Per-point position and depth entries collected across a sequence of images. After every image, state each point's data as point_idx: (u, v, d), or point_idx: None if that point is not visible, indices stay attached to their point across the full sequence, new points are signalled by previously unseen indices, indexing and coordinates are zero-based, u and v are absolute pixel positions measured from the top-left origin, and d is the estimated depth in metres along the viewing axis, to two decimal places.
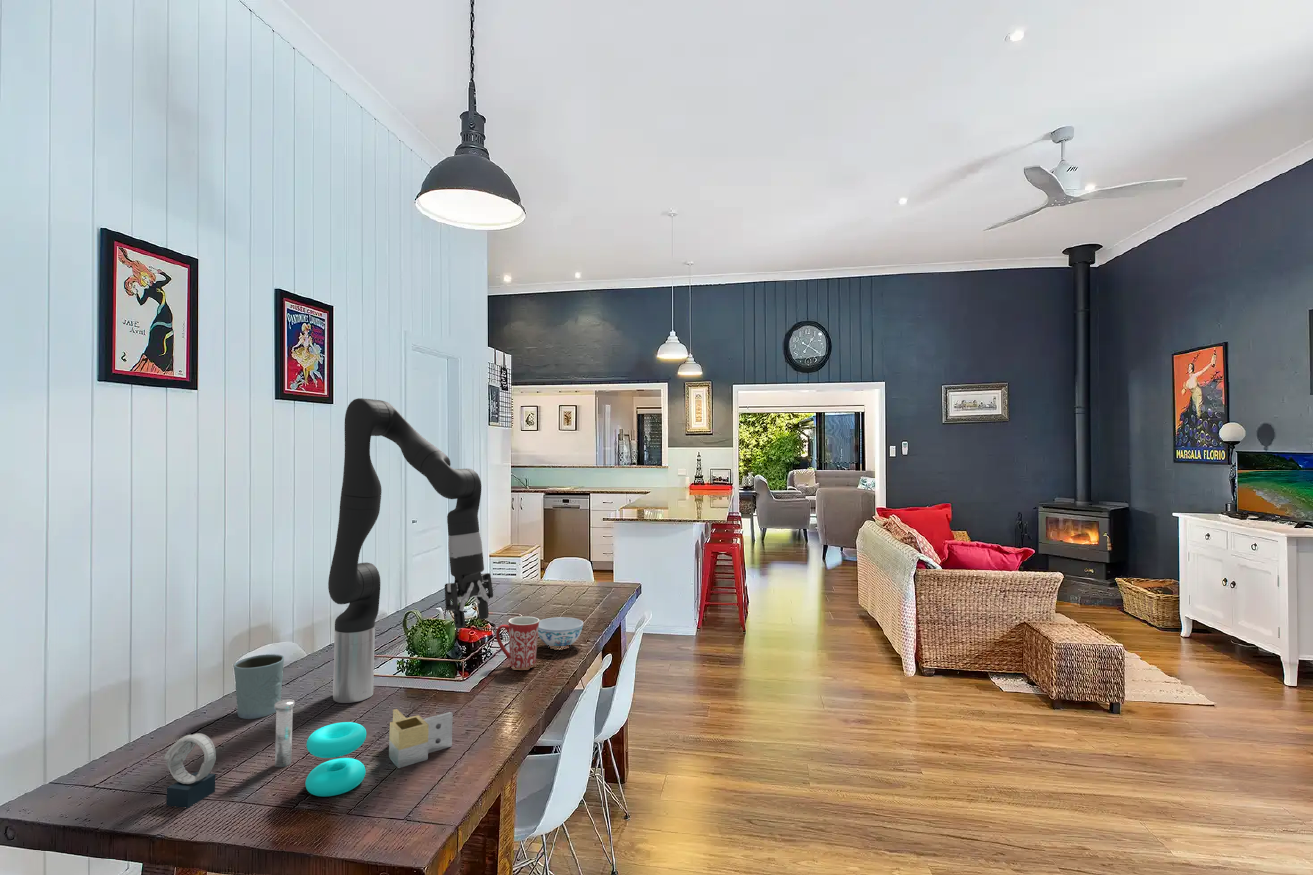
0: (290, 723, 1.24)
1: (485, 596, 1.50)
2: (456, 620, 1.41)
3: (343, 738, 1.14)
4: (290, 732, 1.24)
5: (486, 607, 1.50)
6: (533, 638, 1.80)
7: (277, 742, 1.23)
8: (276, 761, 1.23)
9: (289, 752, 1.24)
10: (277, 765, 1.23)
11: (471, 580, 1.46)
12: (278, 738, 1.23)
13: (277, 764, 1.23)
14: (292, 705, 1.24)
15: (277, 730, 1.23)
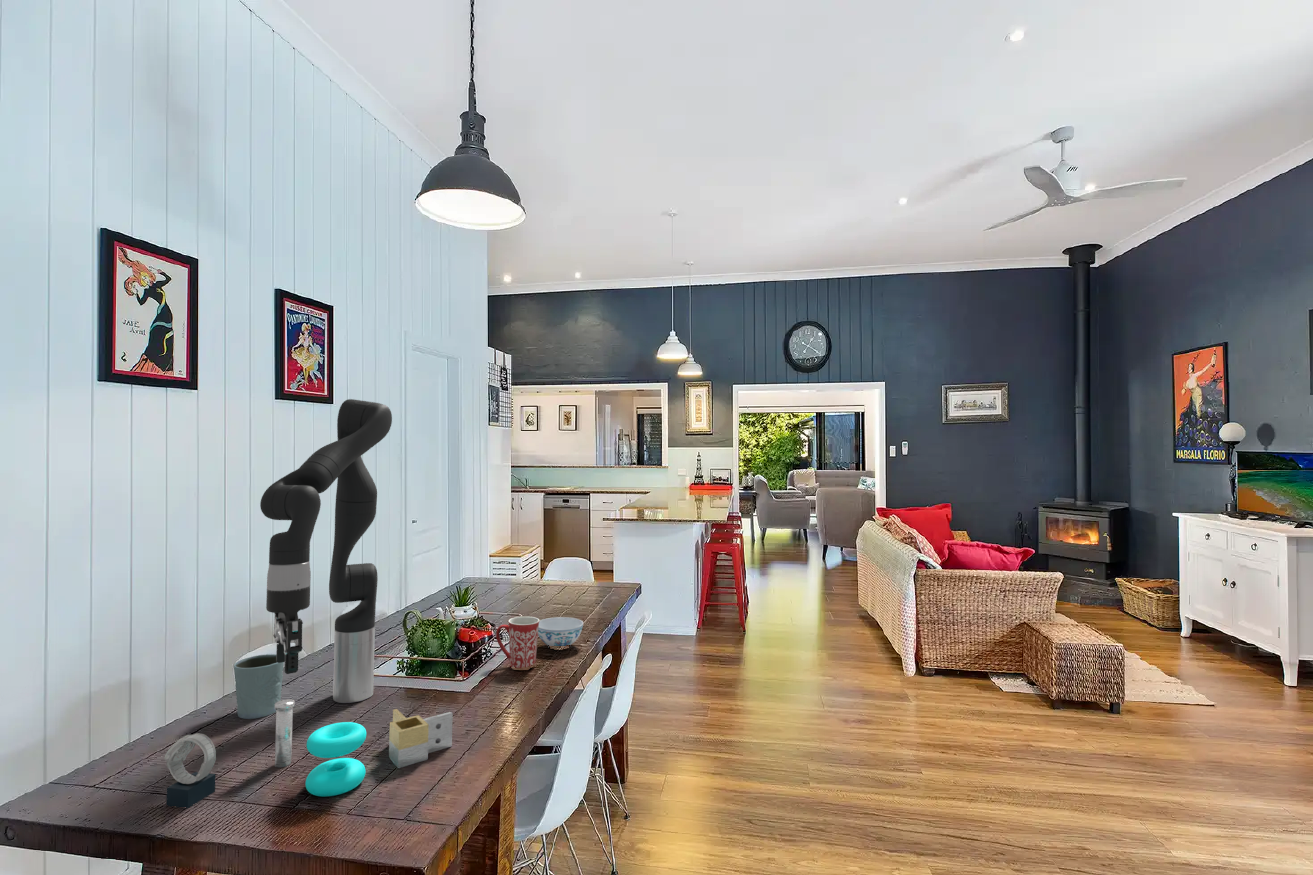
0: (290, 723, 1.24)
1: (284, 646, 1.21)
2: None
3: (343, 738, 1.14)
4: (290, 732, 1.24)
5: (285, 660, 1.21)
6: (533, 638, 1.80)
7: (277, 742, 1.23)
8: (276, 761, 1.23)
9: (289, 752, 1.24)
10: (277, 765, 1.23)
11: (281, 617, 1.25)
12: (278, 738, 1.23)
13: (277, 764, 1.23)
14: (292, 705, 1.24)
15: (277, 730, 1.23)
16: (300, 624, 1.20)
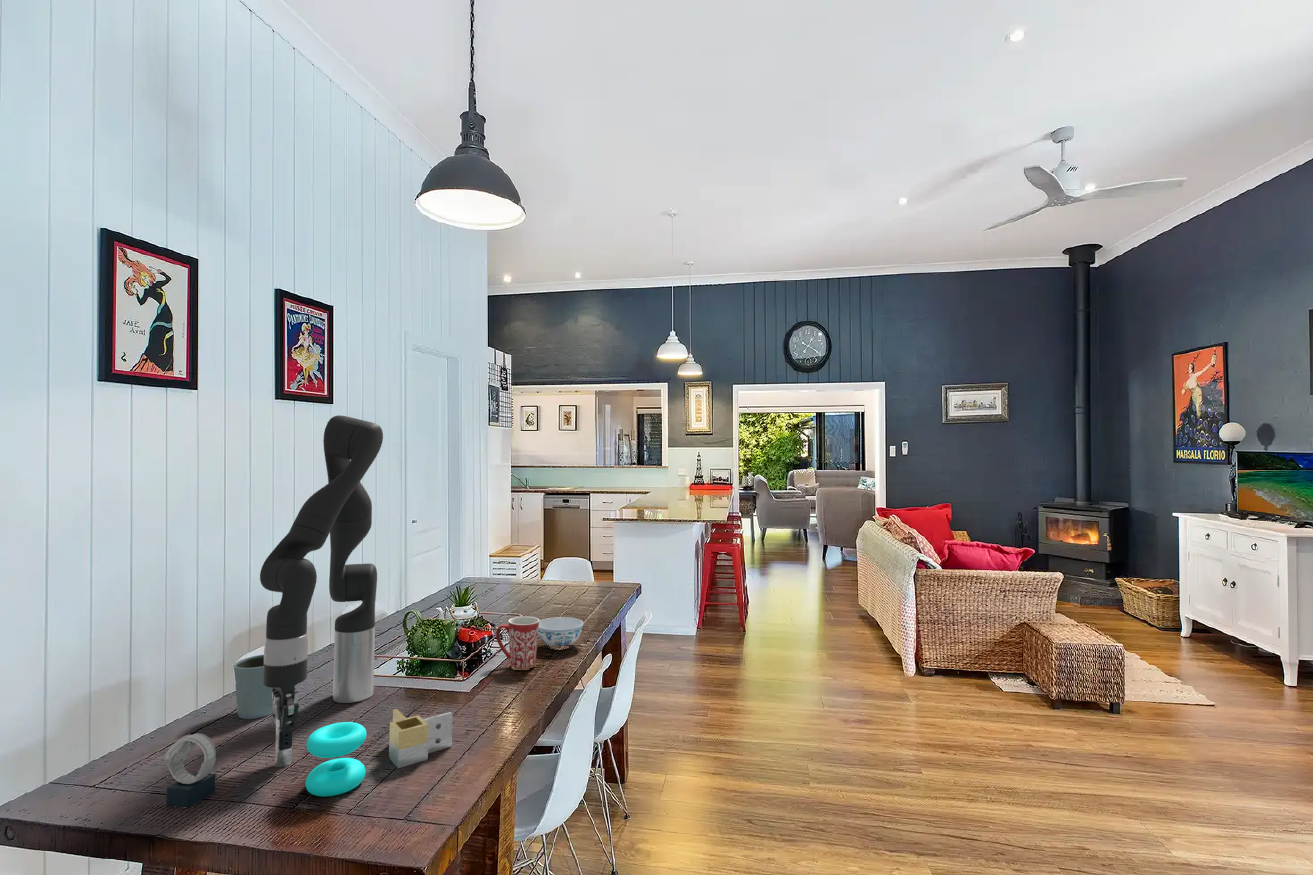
0: None
1: (279, 723, 1.22)
2: None
3: (343, 738, 1.14)
4: None
5: (279, 736, 1.23)
6: (533, 638, 1.80)
7: (277, 742, 1.23)
8: (276, 761, 1.23)
9: (289, 752, 1.24)
10: (277, 765, 1.23)
11: (278, 690, 1.24)
12: (278, 738, 1.23)
13: (277, 764, 1.23)
14: None
15: (277, 730, 1.23)
16: (296, 709, 1.20)
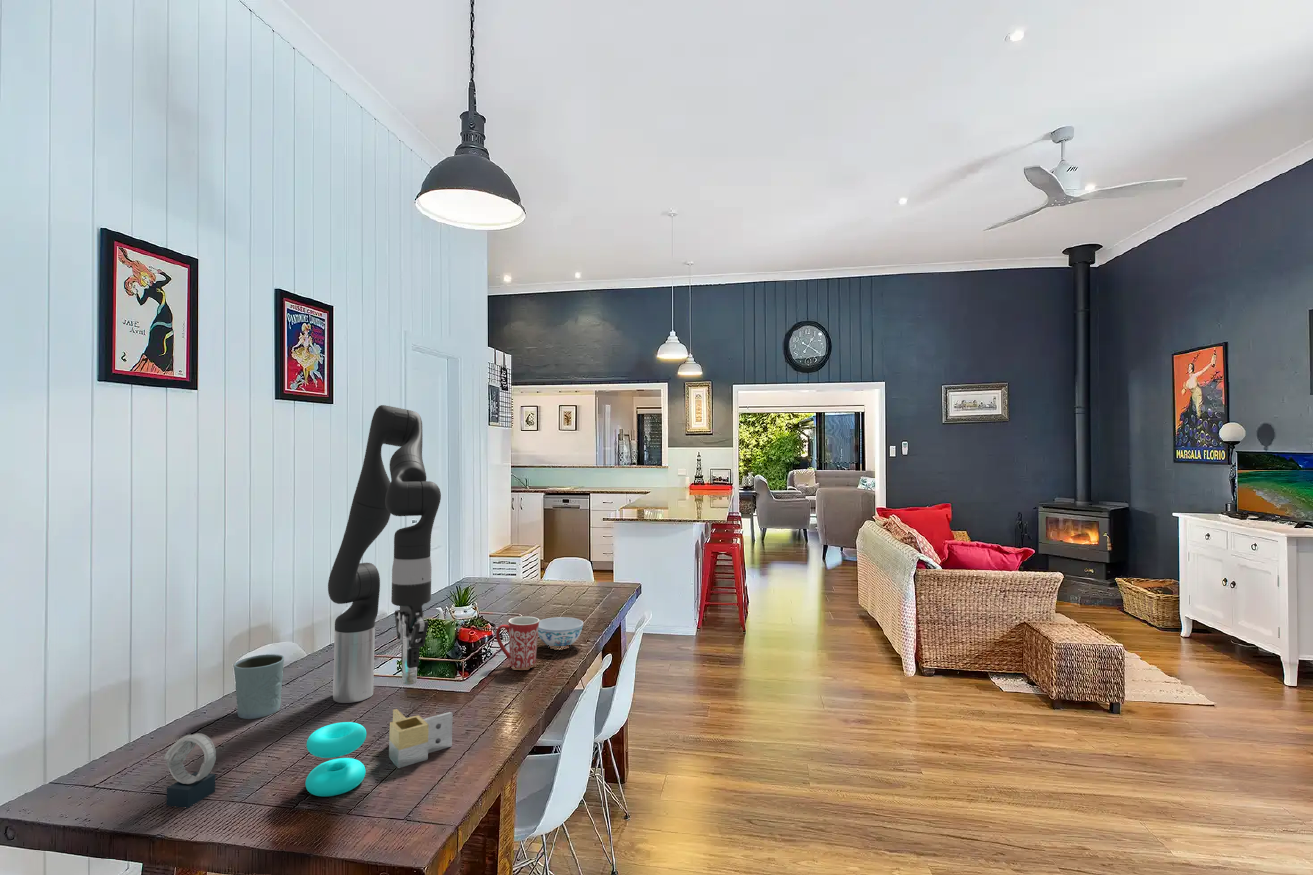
0: None
1: (407, 641, 1.25)
2: None
3: (343, 738, 1.14)
4: None
5: (407, 654, 1.26)
6: (533, 638, 1.80)
7: (405, 660, 1.26)
8: (404, 679, 1.26)
9: (415, 671, 1.27)
10: (405, 683, 1.26)
11: (405, 611, 1.27)
12: (405, 656, 1.26)
13: (405, 681, 1.26)
14: None
15: (404, 649, 1.26)
16: (426, 626, 1.23)
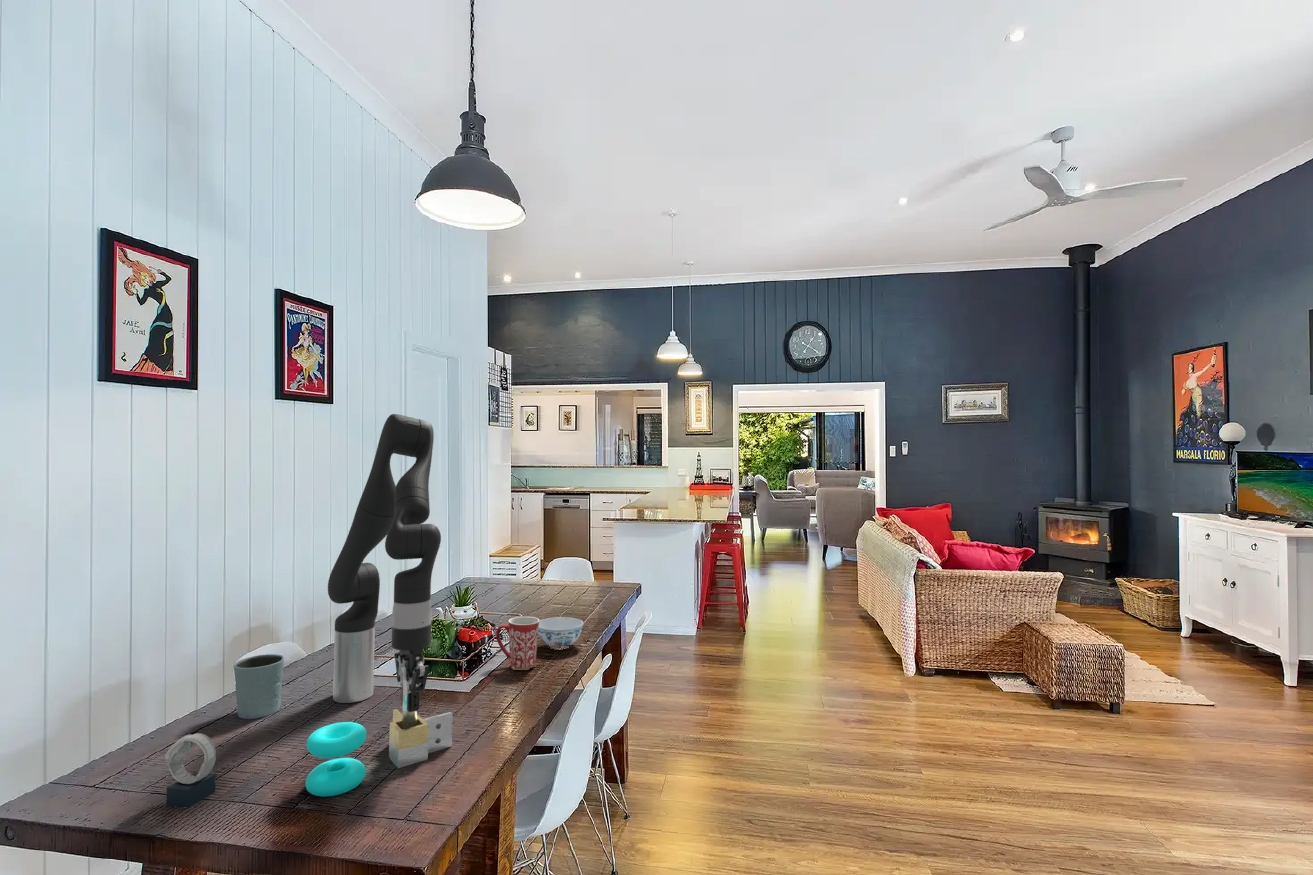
0: None
1: (408, 685, 1.25)
2: None
3: (343, 738, 1.14)
4: None
5: (407, 698, 1.26)
6: (533, 638, 1.80)
7: (405, 704, 1.26)
8: (404, 723, 1.26)
9: (416, 714, 1.27)
10: (405, 726, 1.26)
11: (405, 654, 1.27)
12: (406, 700, 1.26)
13: (405, 725, 1.26)
14: None
15: (405, 692, 1.26)
16: (426, 671, 1.23)
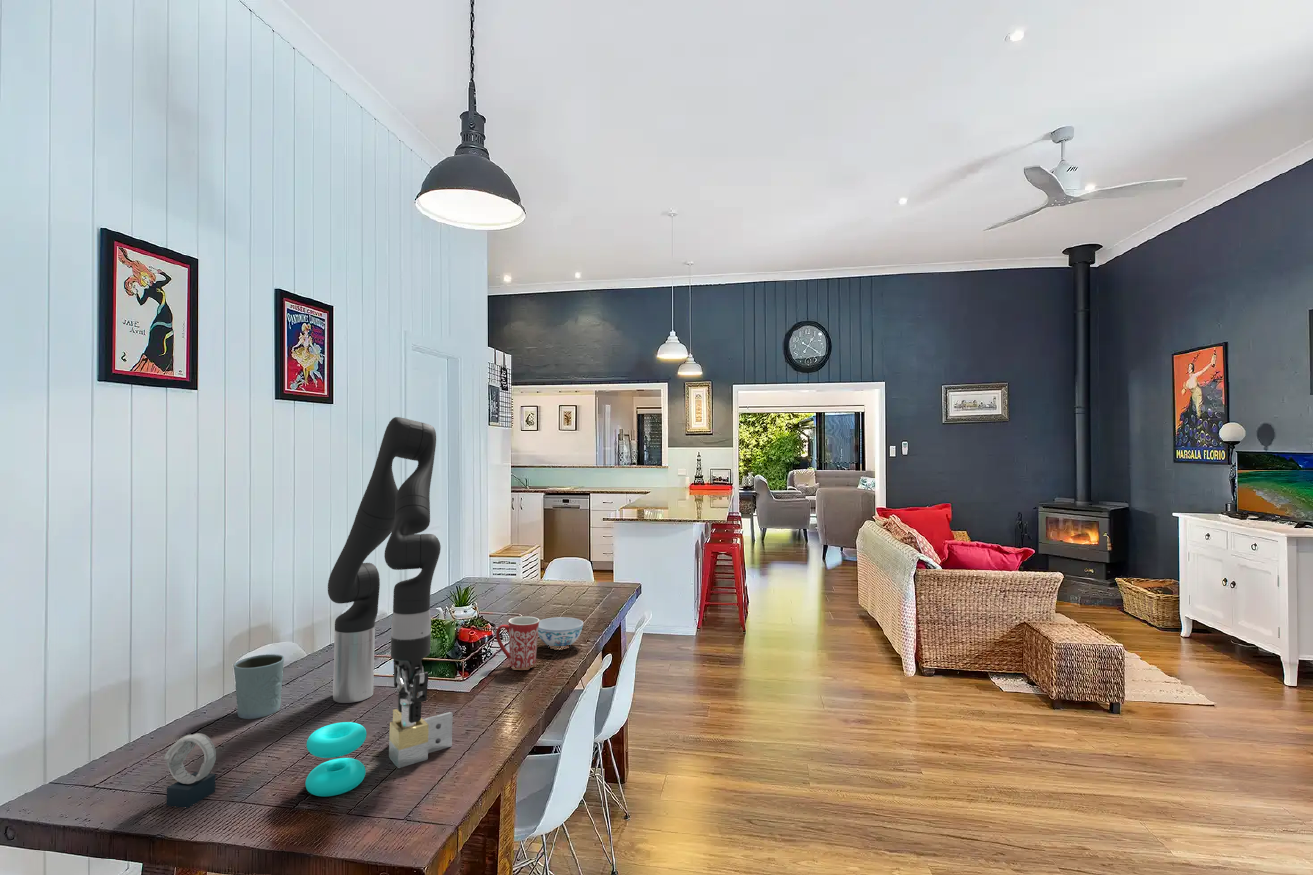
0: None
1: (409, 695, 1.24)
2: None
3: (343, 738, 1.14)
4: None
5: (409, 709, 1.24)
6: (533, 638, 1.80)
7: None
8: None
9: None
10: None
11: (404, 664, 1.27)
12: None
13: None
14: None
15: (403, 725, 1.26)
16: (426, 677, 1.23)
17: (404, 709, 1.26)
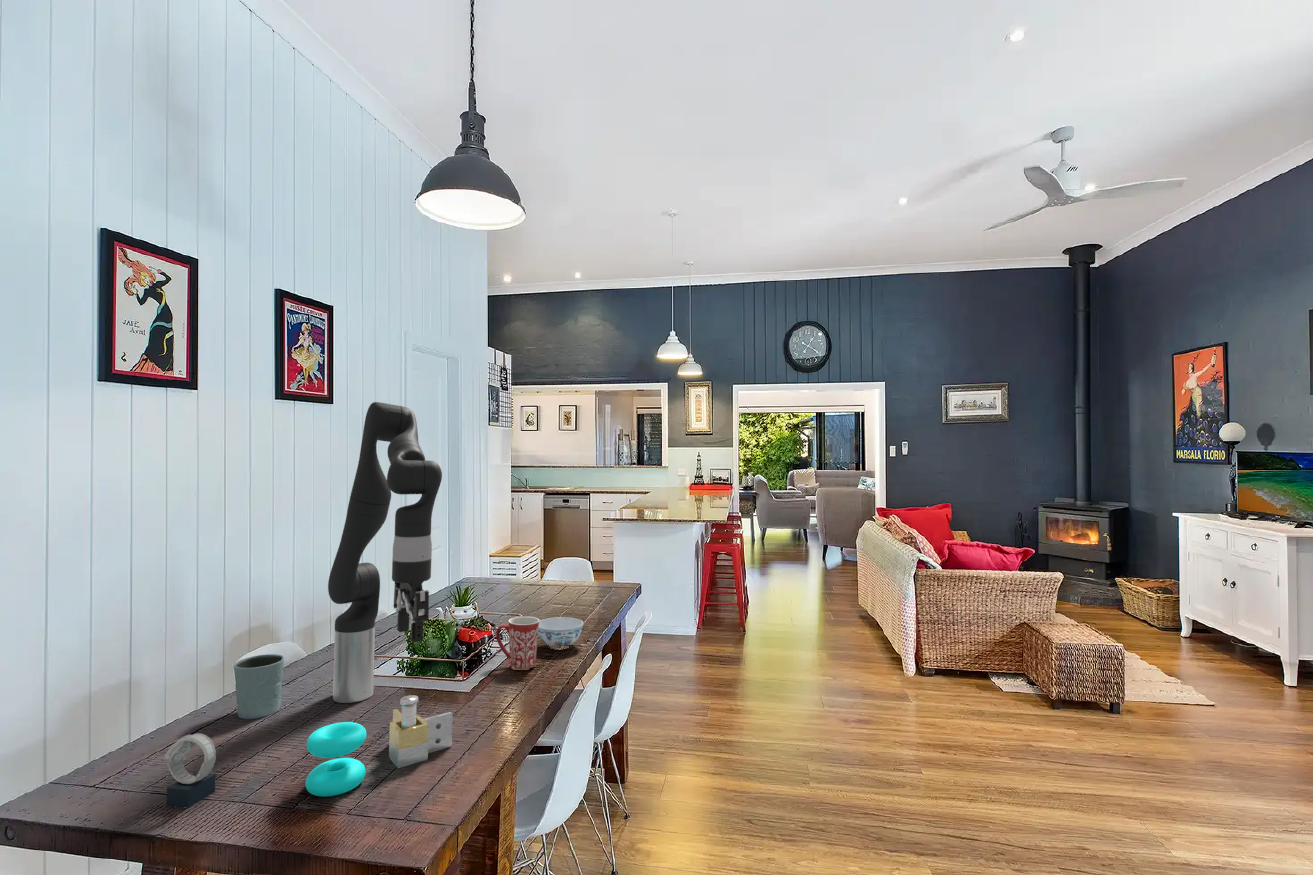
0: (415, 718, 1.27)
1: (411, 615, 1.25)
2: None
3: (343, 738, 1.14)
4: None
5: (411, 628, 1.25)
6: (533, 638, 1.80)
7: None
8: None
9: None
10: None
11: (405, 588, 1.29)
12: None
13: None
14: (417, 701, 1.27)
15: (403, 725, 1.26)
16: (427, 594, 1.25)
17: (404, 709, 1.26)
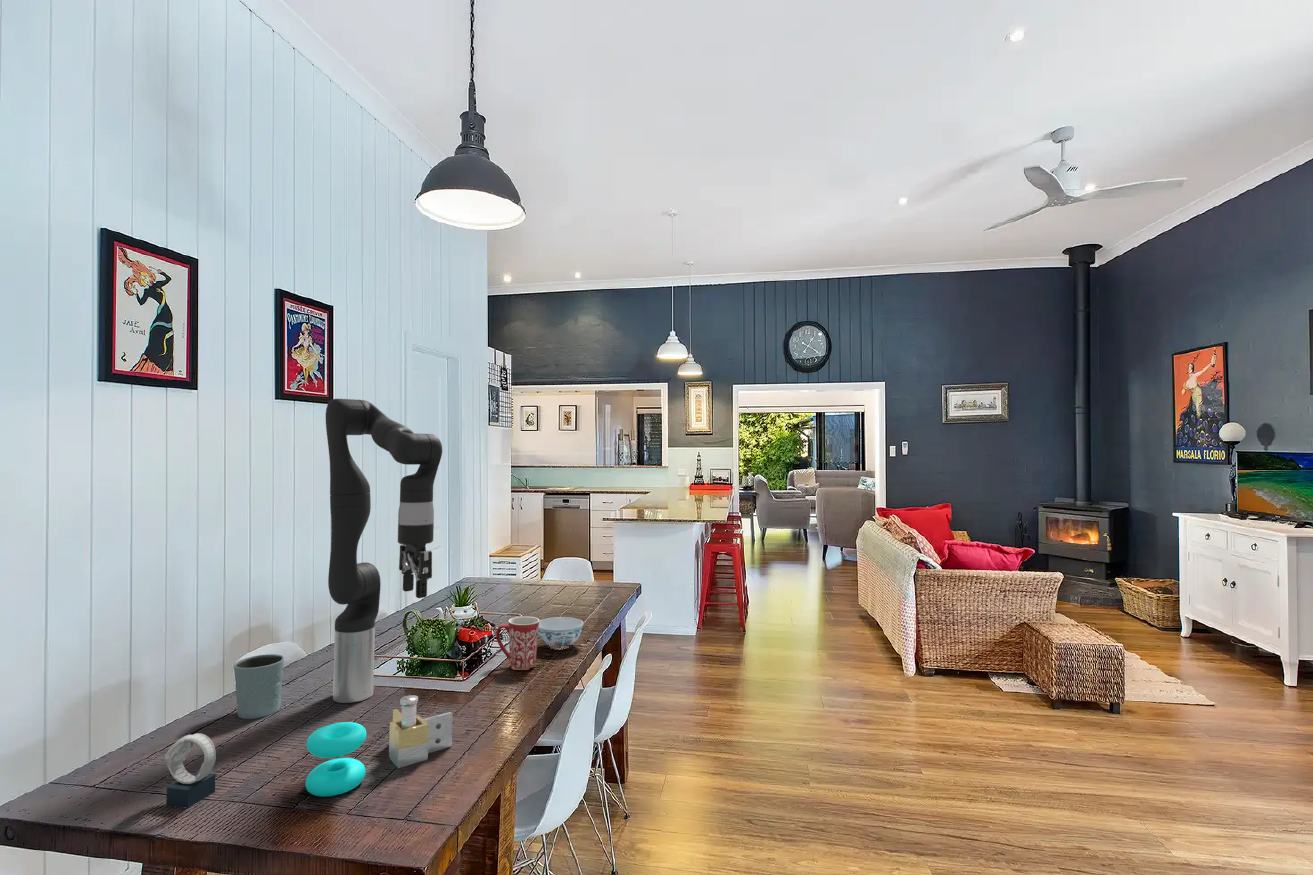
0: (415, 718, 1.27)
1: (415, 574, 1.37)
2: None
3: (343, 738, 1.14)
4: None
5: (416, 586, 1.37)
6: (533, 638, 1.80)
7: None
8: None
9: None
10: None
11: (410, 550, 1.41)
12: None
13: None
14: (417, 701, 1.27)
15: (403, 725, 1.26)
16: (430, 554, 1.37)
17: (404, 709, 1.26)
